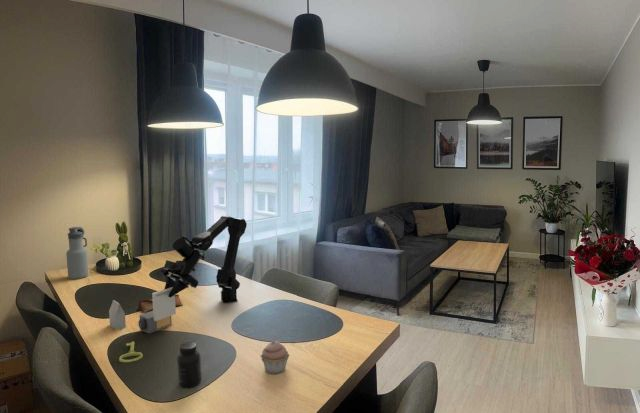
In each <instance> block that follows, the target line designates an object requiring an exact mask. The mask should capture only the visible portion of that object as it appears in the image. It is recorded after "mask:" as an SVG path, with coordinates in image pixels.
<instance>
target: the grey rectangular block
mask: <svg viewBox="0 0 640 413" xmlns="http://www.w3.org/2000/svg"><path fill="white" fill-rule="evenodd" d="M137 325H138V328H139V329H140V331H142V332H145V333H147V334H151V333H155V332H158V331H160V330H162V329H165V328H168V327H170V326H172V325H173V323H172V315H171V316H169V317H166V318H163V319H160V320H158V321H154V319H153V311H150V312H147V313H144V314H143V313H141V314H139V320H138V324H137Z"/></svg>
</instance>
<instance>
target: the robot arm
mask: <svg viewBox="0 0 640 413" xmlns="http://www.w3.org/2000/svg"><path fill="white" fill-rule="evenodd" d="M247 224H248V223H247V221H246V219H245V218H236V217H232V216H229V215H223V216H220V218H219V219H218V220H217V221H215V222H214V223H213V224H212V225H211V226H210V227H208V228H207V230H205V231H204V232H200V233H198V234H196V235H194V236H193V237H192V238H191V239H189V238H188V237H187V236H184V235H182V236H181V237H180V238H178V239H176V240H175V241H174V242H173V243H172V249H173V250H174V251H175V252H176V253H178V255H180V256H181V257H182V258H183V259H182V260H176V261H171V260H167V259H166V260H165V264H164V266H163V268H161V270H160V271H159V274H161V275H162V276H163V277H164V278H165V286H164V288H163V290H164V289H168V288H171V287H173V288H172V290H171V292H170V293H169V296H168V297H170V298H171V297H172V296H174V295H178V293H179V294H180V292H182V291H184V290H185V289H188V288H189V285H190V287H191V288H194V289H196V288H197V287H198V285H199V280H197V279H196V277H194V276H193V275H191V273H192V272H196V268H195V267H196V265H197V264H198V263H199V261H200V260H203V261H204V260H205V253H203V252H206V251H208V250H209V249H210V247H211V246H212V245H213V243H214V240H215V238H217V237H218V236H219V235H221V233H222V232H223V231H224V230H226V229H227V231H228V235H229V236H228V241H227V246H226V252H225V256H224V261H223V266H222V267H221V268H218V270H217V273H216V277H215V278H216V282H217V285H218V288H220V289H221V290H220V300H221V301H222V303H224V304H227V303H234V302H239V301H238V296H237V290H238V289H239V288H240V286H241V283H240V282H239V281H238V279H237V272H236V270H235V267H236V266H235V265H236V260H237V256H238V255H237V254H238V249H239V246H240V242H241V240H240V239H241V238H242V236H243V235H244V234H245V233H246V229H247ZM200 251H202V252H200Z"/></svg>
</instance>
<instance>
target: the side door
mask: <svg viewBox="0 0 640 413" xmlns="http://www.w3.org/2000/svg"><path fill="white" fill-rule="evenodd" d="M172 288H173V287H171V288H168V289H164V288H163V289H162V290H159V291H154V292H152V293H151V296H152V300H153V319H154V321H158V320H160V319H163V318H166V317H169V316H171V317H172V316H174V315H176V309H177V308H176V307H175V295H176V294H175V295H174V296H172V297H171V298H170V297H168V296H169V293H170V292H171V290H172Z"/></svg>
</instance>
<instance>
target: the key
mask: <svg viewBox="0 0 640 413" xmlns="http://www.w3.org/2000/svg"><path fill="white" fill-rule="evenodd" d="M135 344H136V343H135V341H131V342H127V343H126V345H125V346H126V347H129V346H130V348H129V350H128V352H127V353H125V354H121V355H120V356H119V358H118V360H119V361H118V362H120V363H132V362H136V361H139V360H141V359H142V358H144V357H143V356H144V355H143V353H142V352H140V351H135ZM134 356H137V357H136V358H132V359H125V358H128V357H134Z"/></svg>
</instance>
